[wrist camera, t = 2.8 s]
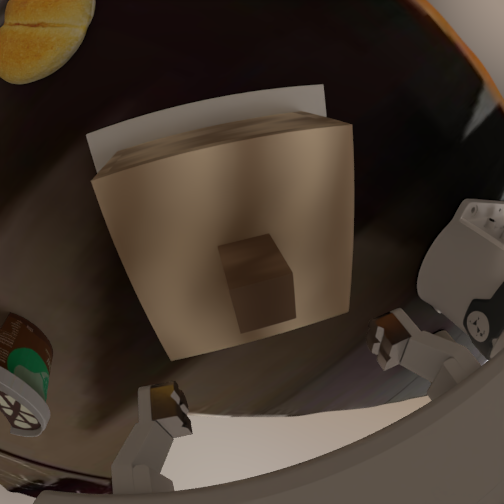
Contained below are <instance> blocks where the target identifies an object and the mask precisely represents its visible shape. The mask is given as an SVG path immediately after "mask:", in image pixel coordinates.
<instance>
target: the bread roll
mask: <svg viewBox="0 0 504 504" xmlns="http://www.w3.org/2000/svg"><path fill="white" fill-rule="evenodd" d="M95 4H96V1H95V0H9V2H8V4H7V7H6V11H5V23H4V25H3V26H2V27H1V28H0V77H1V78H2V79H4V80H5V81H7V82H10V83H12V84H26V83H30V82H34V81H36V80H39V79H42V78H44V77H46V76H49V75H50V74H52V73H53V72H55V71H56V70H58V69H59V68H61V67H62V66H63V65H64V64H65V63H66V62H67V61H68V60H69V59H70V58H71V57H72V56H73V54H74V53H75V52H76V51H77V49H78V48H79V46H80V45H81V43H82V41H83V40H84V37H85V34H86V31H87V28H88V26H89V24H90V23H91V20H92V18H93V15H94V11H95Z"/></svg>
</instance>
